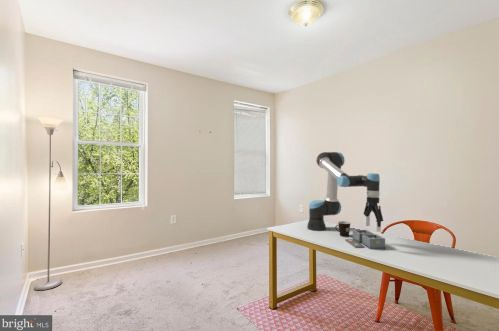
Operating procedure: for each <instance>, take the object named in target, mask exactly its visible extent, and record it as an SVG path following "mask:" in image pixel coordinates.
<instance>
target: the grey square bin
mask: <svg viewBox="0 0 499 331" xmlns="http://www.w3.org/2000/svg"><path fill="white" fill-rule="evenodd" d="M367 234H375V233H373V232H372V231H370V230H368V229H353V230H352V239H354V240H355V241H357V242H359V243H360V244H362V235H367Z"/></svg>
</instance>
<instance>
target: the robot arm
mask: <svg viewBox="0 0 499 331" xmlns="http://www.w3.org/2000/svg"><path fill="white" fill-rule="evenodd" d="M345 161H346V160H345V156H344V155H343V153H341V152H338V151H328V152H327V151H324V152H321V153H319V154H318V155H317V156H316V163H317V165H318V167H319V168H320V169H324V170H325V171H326V172H327V182H326V184H327V185H326V197H325V198H324V199H323V200H322V199H319V200H318V199H317V200H316V199H315V200H312V201H310V202H309V204H308V208H309V209H308V214H309V215H308V216H309V217H308V218H309V219H308V222H307V227H306V228H307V230H311V231H325V230H327V227H326V223H325V219H324V217H325V216H337V215H339V214H340V213H341V210H342V204H341V202H340V200H339V199H338V186H339V187H340V188H342V187H343V188H352V187H353V188H354V187H358V188H359V187H363V188H365V187H366V202H365V207H364V210H363V215H364V216H365V219H364V220H365V223H364V224H365V225H364V226H365V227H370V226H371V225H370V224H371V219H370V218H371V216H370V215H371V212H372V213H373V214H374V216H375V219H376V220H375V232H379V233H381V232H382V222H384V218H383V214H382V209H381V205H378V204H380V181H381V180H380V174H379V173H373V172H372V173H371V172H370V173H367V174H366V175H362V174H361V175H360V174H359V175H348V173H347V172H345V171H343V170H342V167H343V166H344V164H345Z"/></svg>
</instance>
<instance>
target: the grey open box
mask: <svg viewBox="0 0 499 331" xmlns="http://www.w3.org/2000/svg"><path fill="white" fill-rule="evenodd" d="M372 237H374V238H372ZM361 244H362V245H363V246H365V247H366V248H368V249H369V250H380V249H381V250H385V249H386V238H385V237H383V236H381V235H378V234H375V233H374V234H367V235H362V243H361Z"/></svg>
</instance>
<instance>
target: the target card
mask: <svg viewBox="0 0 499 331" xmlns="http://www.w3.org/2000/svg"><path fill="white" fill-rule="evenodd" d="M344 241H345V242H346V243H348V244H349V245H350V246H352V247H354V248H355V249H357V248H360V249H362V248H365V247H366V246H364V245H363V244H362V243H359V242H357V241H355V240H354V239H353V238H345V239H344Z"/></svg>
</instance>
